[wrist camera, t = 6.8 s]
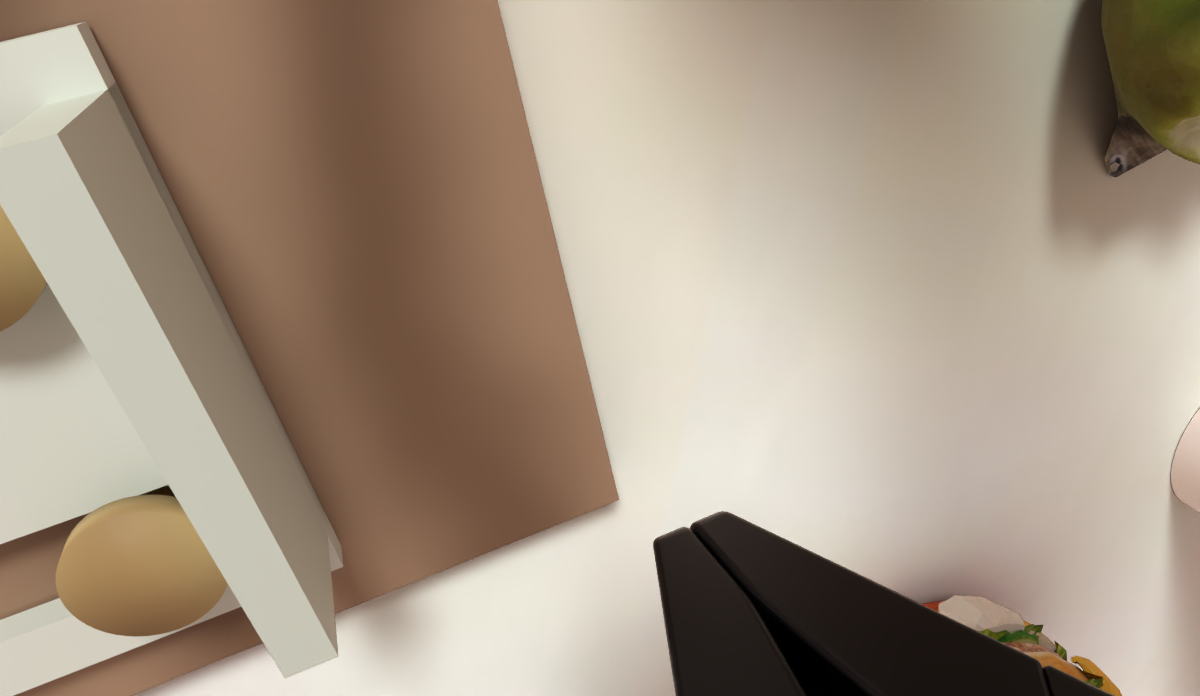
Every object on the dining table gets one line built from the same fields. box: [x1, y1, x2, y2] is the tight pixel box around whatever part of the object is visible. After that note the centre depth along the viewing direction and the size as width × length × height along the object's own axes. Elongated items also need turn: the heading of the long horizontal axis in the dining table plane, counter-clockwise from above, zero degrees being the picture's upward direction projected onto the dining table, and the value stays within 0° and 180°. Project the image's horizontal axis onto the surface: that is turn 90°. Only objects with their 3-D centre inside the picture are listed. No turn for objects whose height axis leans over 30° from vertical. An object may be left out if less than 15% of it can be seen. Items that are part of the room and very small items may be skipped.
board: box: [0, 0, 619, 696], centre depth 16 cm, size 19×16×3 cm
